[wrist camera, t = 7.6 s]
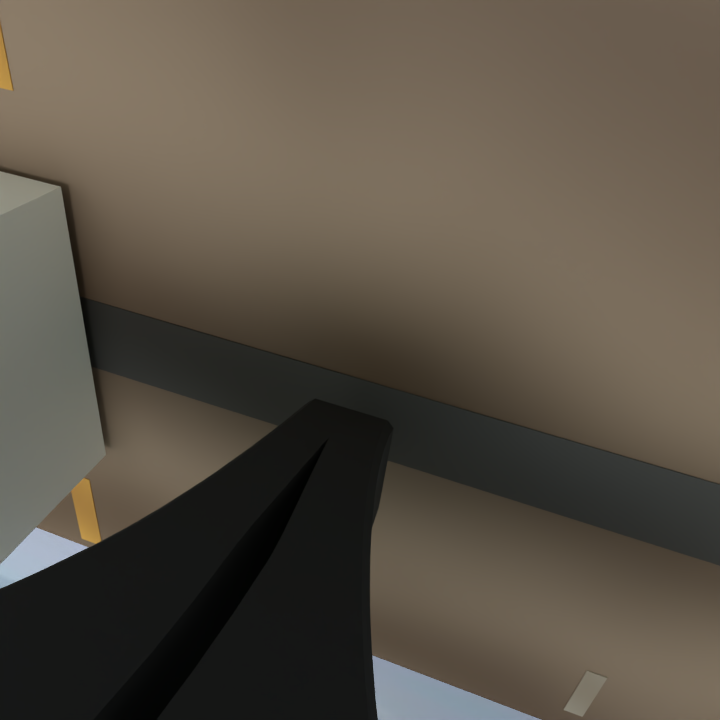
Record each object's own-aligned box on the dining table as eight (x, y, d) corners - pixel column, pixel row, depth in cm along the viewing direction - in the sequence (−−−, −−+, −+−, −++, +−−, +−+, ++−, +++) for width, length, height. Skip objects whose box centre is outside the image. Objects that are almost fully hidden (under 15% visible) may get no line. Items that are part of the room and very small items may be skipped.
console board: (697, 693, 15) (706, 783, 14) (-64, 422, 20) (-125, 467, 18) (1228, 49, 7) (1404, 86, 5) (-283, -173, 11) (-429, -188, 10)
